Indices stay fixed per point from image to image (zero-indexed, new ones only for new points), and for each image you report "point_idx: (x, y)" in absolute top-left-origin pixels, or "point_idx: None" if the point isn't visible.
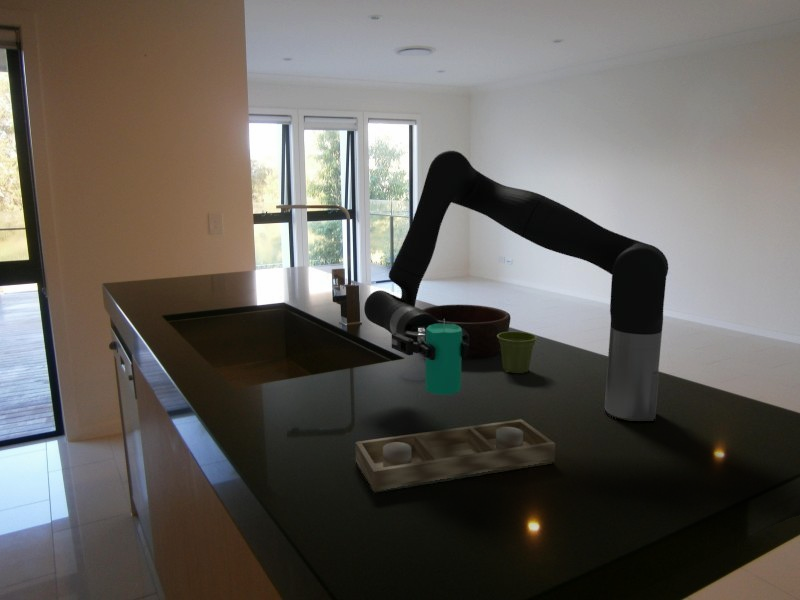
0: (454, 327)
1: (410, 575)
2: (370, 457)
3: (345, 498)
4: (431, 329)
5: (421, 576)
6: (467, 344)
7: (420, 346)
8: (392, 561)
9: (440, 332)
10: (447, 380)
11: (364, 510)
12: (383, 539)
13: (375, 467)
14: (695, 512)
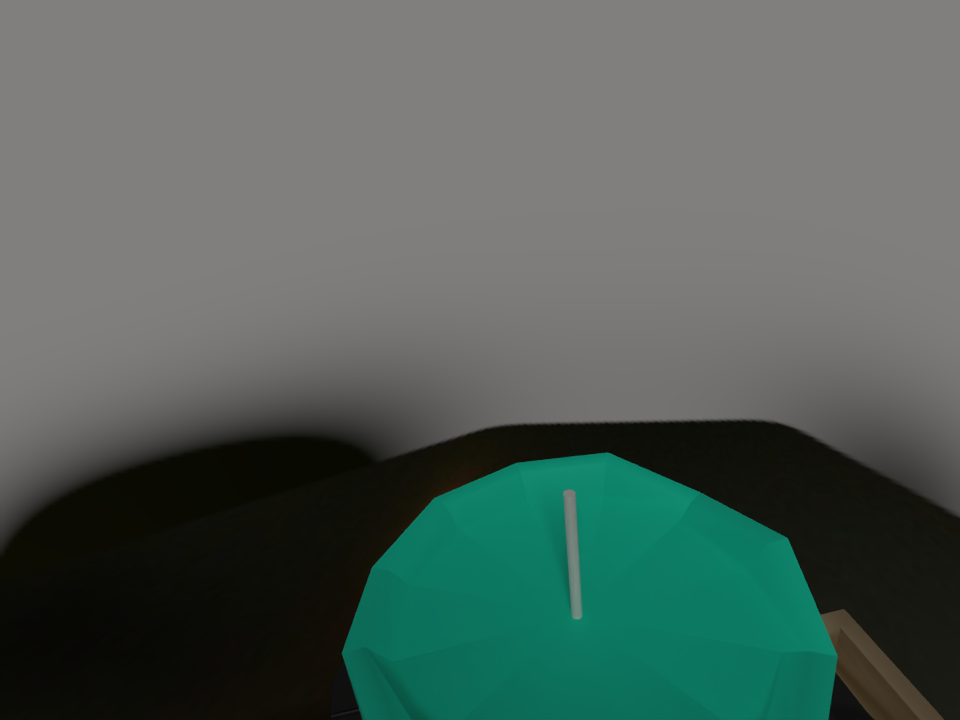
0: (406, 716)
1: (672, 442)
2: (909, 706)
3: (915, 644)
4: (754, 677)
5: (654, 441)
6: (341, 689)
7: (844, 690)
8: (708, 463)
9: (623, 461)
10: None
11: (825, 590)
12: (740, 505)
13: (850, 632)
14: (88, 564)
